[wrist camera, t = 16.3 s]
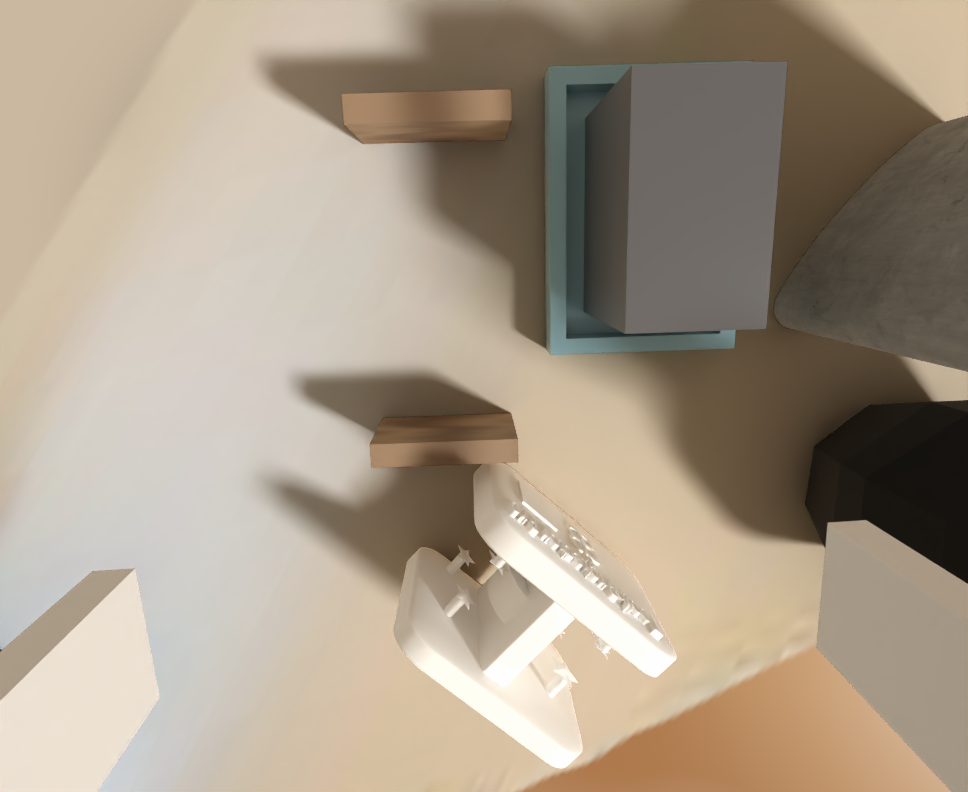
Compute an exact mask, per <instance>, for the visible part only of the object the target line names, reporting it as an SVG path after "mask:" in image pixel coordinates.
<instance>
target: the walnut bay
mask: <svg viewBox="0 0 968 792" xmlns="http://www.w3.org/2000/svg"><path fill="white" fill-rule="evenodd" d="M342 107H343V119H344V125H345V126H346V127H347V128H348V129H349V130H350V131H351V132H352V133H353V134H354V135H355V136H356V137H357V138H358V139H359V140H360V141H361V142H362V143H363V144H378V143H412V142H447V141H481V140H505V139H506V136H507V132H508V129H509V126H510V123H511V120H512V109H511V89H501V90H465V91H429V92H393V93H357V94H342ZM370 456H371V468H383V467H409V466H435V465H461V464H487V463H513V462H518V438H517V434H516V430H515V426H514V423H513V419H512V415H511V413H502V414H475V415H448V416H421V417H394V418H383V419H382V421H381V423H380V425H379V427H378V429H377V431H376V433H375V435H374V437H373V439H372V441H371V443H370Z"/></svg>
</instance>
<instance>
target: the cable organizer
mask: <svg viewBox="0 0 968 792" xmlns="http://www.w3.org/2000/svg"><path fill="white" fill-rule="evenodd" d="M473 484H474V523H475V526H476V529H477V530H478V532H479V534H480V535H481V537H482V538H483V540H484V541H485V542H486V543H487V545H488V546H489V547H490V548H491V549H492V550H493V551H494V552H495V553H496V554H497V556H495V555H494V554H493V553H492V552H491V551H490V550H489V552H490V554H491V556H492V559H491V560H490V561H489V562H490V563H492V564H494V565H495V566H497V568H498V570H497V571H496V572H495V573H494V574H493V575H492V576H491V577H490V578H489V579H488V580H487V581H486V582H485V583H484V584H483V585H482V586H481V585H480V584H478V583H477V582H476V581H475V580H473V579H472V578H471V577H470V576H468V575H467V574H466V573H465V572H463V571H462V570H461V569H459V568H460V567H461V566H462V565H463V564H464V563H465V562H466V564H467V566H468V567H469V563H470V562H471V563H474V561H473V560H472V559H471V558H470V556H469V550H463V549H462V548H461V547H460V546H459V545H458V547H459V549H460V553H459V554H458V556H457V557H456V558H455V559H454V560H453V561H452V562H451V561H449V560H448V559H447V558H446V557H444V556H443V555H441V554H440V553H438V552H437V551H435V550H433V549H431V548H428V547H421V548H419V549H418V550H417V551H416V552H415V553H414V554H413V556H412V557H411V558H410V559H409V560H408V561H407V563H406V569H405V574H404V579H403V584H402V589H401V594H400V599H399V604H398V609H397V614H396V619H395V624H394V635H395V638H396V641H397V643H398V645H399V646H400V648H401V650H402V651H403V652H404V654H405V655H406V656H407V657H408V659H409V660H410V661H411V662H412V663H413V664H414V665H415V666H416V667H418V668H419V669H420V670H422V671H423V672H424V673H426V674H427V675H428V676H430V677H431V678H432V679H434V680H435V681H436V682H438V683H439V684H440V685H442V686H443V687H444V688H446V689H447V690H449V691H450V692H451V693H453V694H454V695H455V696H457V697H458V698H459V699H461V700H462V701H463V702H465V703H466V704H467V705H469V706H470V707H472V708H473V709H474V710H476V711H477V712H478V713H480V714H481V715H482V716H484V717H485V718H486V719H488V720H489V721H490V722H492V723H493V724H495V725H496V726H497V727H499V728H500V729H501V730H503V731H504V732H505V733H507V734H508V735H509V736H511V737H512V738H513V739H515V740H516V741H518V742H519V743H520V744H522V745H523V746H524V747H526V748H527V749H528V750H530V751H531V752H532V753H534V754H535V755H536V756H538V757H539V758H541V759H542V760H543V761H545V762H546V763H548V764H549V765H551V766H553V767H556V768H565V767H566V766H567V765H569V764H570V763H571V762H572V761H573V760H574V759H575V758H576V757H577V756H578V755H579V754H580V753H581V752H582V748H583V746H582V741H581V736H580V732H579V728H578V723H577V719H576V715H575V710H574V706H573V702H572V697H571V693H570V689H569V686H570V688H571V681H573V682H576V683H578V682H577V681H576V679H575V678H574V677H573V675H572V674H571V672H570V671H569V670H568V668H567V666H566V663H565V662H564V663H563V660H562V658H561V656H560V654H559V653H558V651H557V650H556V648H555V647H554V646H553V645H552V643H551V641H552V640H553V639H554V638H555V637H556V636H557V635H558V634H559V636H560V638H561V639H562V635H561V633H562V634H565V633H564V631H563V629H564V628H565V627H567V626H568V625H569V624H570V623H571V622H572V621H573V620H574V619H577V620H578V621H579V622H580V623H582V624H583V625H584V626H585V627H587V628H588V629H589V630H590V632H591V634H592V636H593V638H594V639H595V647H597V648H598V649H600V650H601V651H602V652H603V654H604V655H605V657H606V658H607V654H606V653H610V652H609V651H608V650H609V649H610V648H613V649H614V650H615V651H616V652H618V653H619V654H620V655H621V656H622V657H624V658H625V659H626V660H627V661H629V662H630V663H631V664H632V665H634V666H635V667H636V668H638V669H639V670H640V671H642V672H643V673H645V674H647V675H649V676H652V677H657V676H659V675H660V674H661V673H662V672H663V671H664V670H665V669H666V668H667V667H668V666H669V665H671V664H672V663H673V662H674V661H675V660H676V658H677V656H676V653H675V650H674V648H673V647H672V645H671V643H670V641H669V639H668V637H667V635H666V633H665V631H664V629H663V627H662V625H661V623H660V621H659V619H658V618H657V616H656V614H655V612H654V610H653V608H652V606H651V604H650V602H649V600H648V598H647V596H646V594H645V592H644V590H643V589H642V587H641V585H640V583H639V581H638V580H637V578H636V577H635V576H634V575H633V573H632V572H631V571H630V570H629V569H628V568H627V567H626V566H625V565H624V564H623V563H622V562H621V561H620V560H619V559H618V558H617V557H616V556H615V555H614V554H612V553H611V552H610V551H609V550H608V549H606V548H605V547H604V546H603V545H602V544H601V543H599V542H598V541H597V540H596V539H595V538H593V537H592V536H591V535H590V534H589V533H588V532H586V531H585V530H584V529H583V528H582V527H580V526H579V525H578V524H577V523H576V522H575V521H573V520H572V519H571V518H570V517H569V516H567V515H566V514H565V513H564V512H563V511H562V510H560V509H559V508H558V507H557V506H556V505H554V504H553V503H552V502H551V501H550V500H549V499H547V498H546V497H545V496H544V495H543V494H541V493H540V492H539V491H538V490H537V489H536V488H534V487H533V486H532V485H531V484H530V483H528V482H527V481H526V480H525V479H524V478H523V477H521V476H520V475H519V474H518V473H517V472H515V471H514V470H513V469H512V468H510V467H509V466H508V465H506V464H505V463H487V464H482V465H481V466H480V467H479V468H478V469H477V470H476V471H475V472H474V474H473ZM474 564H475V563H474ZM592 632H593V633H594V634H595V635H596V636H598V637H596V636H595V635H594V634H593V633H592ZM607 660H608V658H607ZM571 689H572V688H571Z"/></svg>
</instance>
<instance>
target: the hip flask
mask: <svg viewBox="0 0 968 792" xmlns="http://www.w3.org/2000/svg"><path fill="white" fill-rule="evenodd" d="M774 315H775V318H776V319H777V321H778V322H779V323H780V324H781V325H782V326H784V327H786V328H788V329H792V330H797V331H801V332H805V333H809V334H813V335H817V336H821V337H826V338H830V339H834V340H838V341H842V342H846V343H851V344H855V345H859V346H863V347H867V348H871V349H876V350H880V351H884V352H888V353H892V354H896V355H900V356H905V357H909V358H913V359H917V360H921V361H925V362H930V363H934V364H938V365H942V366H946V367H950V368H955V369H959V370H963V371H967V372H968V116H965V117H961V118H957V119H954V120H950V121H946V122H943V123H939V124H935V125H932V126H930V127H927V128H926V129H924V130H923V131H922V132H920V133H919V134H918V135H917V136H915V137H914V138H913V139H912V140H910V141H909V142H908V143H907V144H906V145H904V146H903V147H902V148H901V149H900V150H899V151H897V152H896V153H895V154H894V155H893V156H892V157H891V158H890V159H889V160H887V161H886V162H885V163H884V164H883V165H882V166H881V167H880V168H879V169H878V170H877V171H876V172H875V173H874V174H873V175H872V176H871V177H870V178H869V179H868V180H867V181H866V182H865V183H864V184H863V185H862V186H861V187H860V188H859V189H858V190H857V191H856V192H855V193H854V194H853V195H852V197H851V198H850V199H849V200H848V201H847V202H846V203H845V204H844V206H843V207H842V208H841V209H840V210H839V211H838V212H837V214H836V215H835V216H834V217H833V218H832V219H831V221H830V222H829V223H828V224H827V225H826V227H825V228H824V229H823V230H822V231H821V233H820V234H819V235H818V236H817V238H816V239H815V240H814V242H813V243H812V244H811V246H810V247H809V248H808V250H807V251H806V252H805V254H804V255H803V257H802V258H801V259H800V261H799V262H798V264H797V265H796V267H795V268H794V270H793V271H792V273H791V274H790V276H789V277H788V279H787V281H786V282H785V284H784V285H783V287H782V289H781V290H780V292H779V294H778V295H777V297H776V300H775V303H774Z"/></svg>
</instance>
